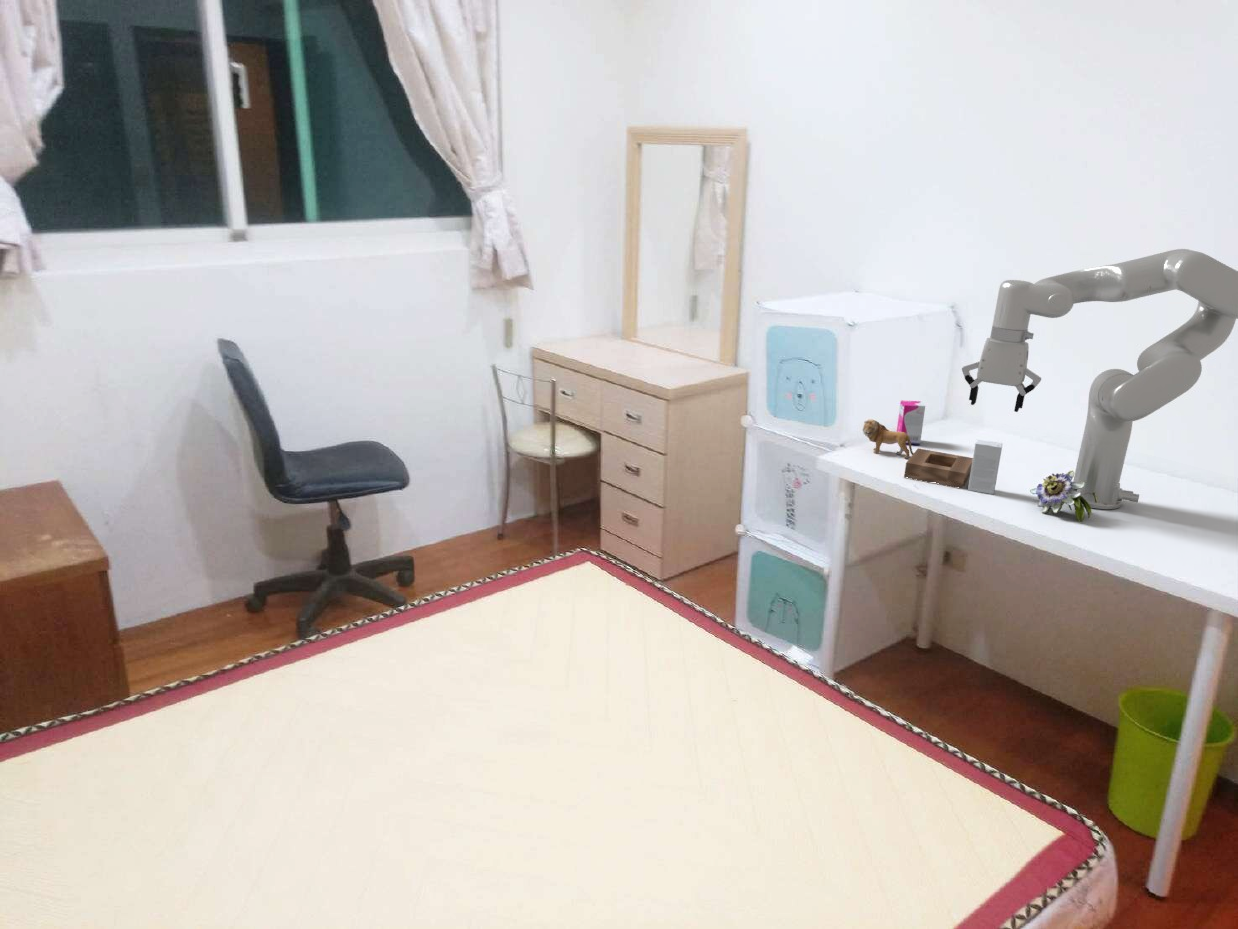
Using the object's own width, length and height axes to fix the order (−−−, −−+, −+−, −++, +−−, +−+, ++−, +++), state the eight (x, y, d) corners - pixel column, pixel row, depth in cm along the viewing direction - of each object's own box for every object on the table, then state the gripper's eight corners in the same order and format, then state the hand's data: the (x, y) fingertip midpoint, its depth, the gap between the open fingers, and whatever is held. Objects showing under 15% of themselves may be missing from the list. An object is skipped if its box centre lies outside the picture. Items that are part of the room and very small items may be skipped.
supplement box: (915, 439, 257) (921, 400, 253) (920, 445, 251) (926, 406, 248) (895, 438, 257) (900, 399, 254) (899, 444, 252) (904, 404, 248)
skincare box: (994, 489, 219) (1003, 442, 215) (993, 494, 216) (1002, 447, 212) (968, 485, 222) (976, 438, 218) (966, 490, 218) (975, 443, 214)
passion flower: (1041, 535, 207) (1018, 487, 209) (1072, 519, 212) (1049, 472, 213) (1080, 524, 197) (1055, 474, 199) (1111, 508, 201) (1087, 459, 203)
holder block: (971, 473, 230) (974, 458, 229) (962, 488, 219) (965, 473, 217) (915, 462, 237) (917, 448, 235) (904, 477, 225) (906, 462, 224)
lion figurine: (859, 453, 243) (863, 421, 240) (860, 447, 248) (864, 416, 245) (915, 460, 239) (920, 428, 236) (916, 454, 243) (921, 423, 240)
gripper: (1050, 338, 206) (1035, 410, 211) (971, 328, 213) (959, 397, 219) (1047, 343, 199) (1032, 417, 205) (966, 332, 207) (953, 404, 213)
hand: (994, 407), depth 212 cm, fingers open, 9 cm apart
